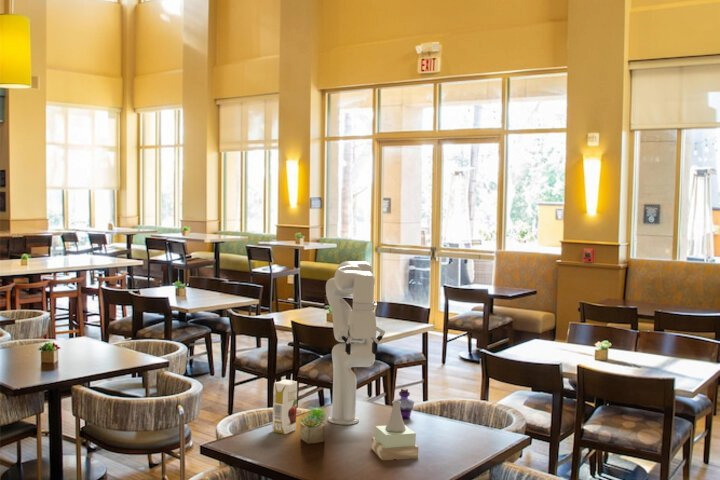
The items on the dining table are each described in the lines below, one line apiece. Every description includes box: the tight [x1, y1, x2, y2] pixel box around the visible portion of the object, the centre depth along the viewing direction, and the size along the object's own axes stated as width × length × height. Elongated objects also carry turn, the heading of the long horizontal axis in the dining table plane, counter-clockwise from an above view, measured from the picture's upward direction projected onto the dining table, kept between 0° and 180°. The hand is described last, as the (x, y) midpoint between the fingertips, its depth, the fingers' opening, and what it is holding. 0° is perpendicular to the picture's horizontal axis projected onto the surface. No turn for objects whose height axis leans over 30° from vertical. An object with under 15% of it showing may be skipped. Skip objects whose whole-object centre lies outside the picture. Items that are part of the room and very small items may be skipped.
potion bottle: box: [393, 388, 415, 420], centre depth 306 cm, size 9×9×12 cm
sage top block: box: [374, 424, 417, 448], centre depth 260 cm, size 11×11×4 cm
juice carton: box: [272, 378, 298, 435], centre depth 281 cm, size 8×9×19 cm
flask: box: [385, 400, 406, 432], centre depth 259 cm, size 7×7×10 cm
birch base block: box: [371, 436, 419, 461], centre depth 260 cm, size 13×13×4 cm
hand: (361, 353), depth 268 cm, fingers open, 9 cm apart
